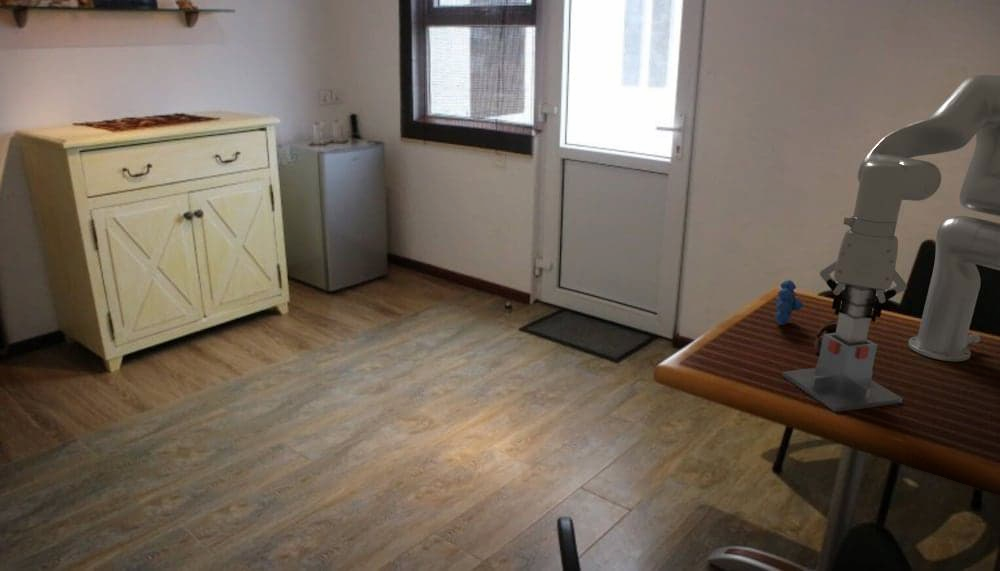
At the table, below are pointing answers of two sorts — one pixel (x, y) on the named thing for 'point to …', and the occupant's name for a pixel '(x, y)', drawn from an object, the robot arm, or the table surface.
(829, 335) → the stand base
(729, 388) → the table surface
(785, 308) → the blue lumpy cluster
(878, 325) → the table surface
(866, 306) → the column
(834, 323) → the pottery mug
